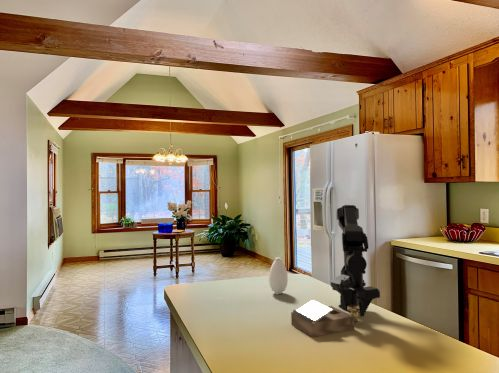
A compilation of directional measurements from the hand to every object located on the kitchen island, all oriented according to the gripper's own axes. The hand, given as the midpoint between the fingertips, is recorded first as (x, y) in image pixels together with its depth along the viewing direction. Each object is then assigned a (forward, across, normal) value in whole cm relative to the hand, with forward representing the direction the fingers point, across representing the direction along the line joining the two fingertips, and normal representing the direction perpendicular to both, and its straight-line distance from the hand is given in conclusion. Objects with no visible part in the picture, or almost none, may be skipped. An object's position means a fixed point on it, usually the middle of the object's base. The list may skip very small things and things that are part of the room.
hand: (354, 313), depth 127 cm
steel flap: (-3, 0, -16) cm, 16 cm away
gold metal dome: (+3, 0, 0) cm, 3 cm away
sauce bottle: (+3, -41, -7) cm, 42 cm away
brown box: (+2, 0, -13) cm, 13 cm away
